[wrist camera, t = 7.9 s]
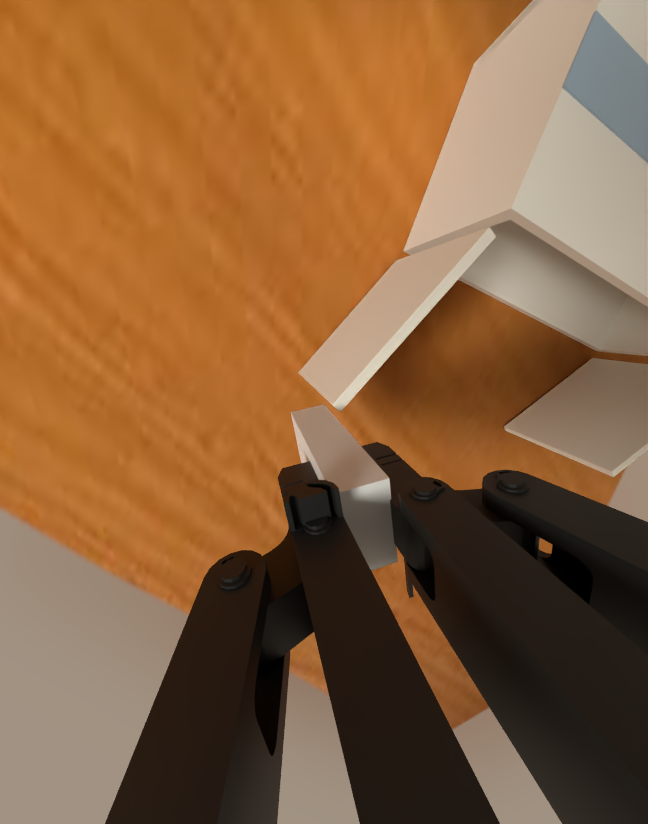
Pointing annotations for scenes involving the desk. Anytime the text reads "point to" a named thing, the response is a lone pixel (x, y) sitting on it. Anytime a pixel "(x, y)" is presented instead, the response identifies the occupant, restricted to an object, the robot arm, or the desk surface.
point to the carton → (555, 171)
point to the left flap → (389, 316)
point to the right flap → (592, 416)
